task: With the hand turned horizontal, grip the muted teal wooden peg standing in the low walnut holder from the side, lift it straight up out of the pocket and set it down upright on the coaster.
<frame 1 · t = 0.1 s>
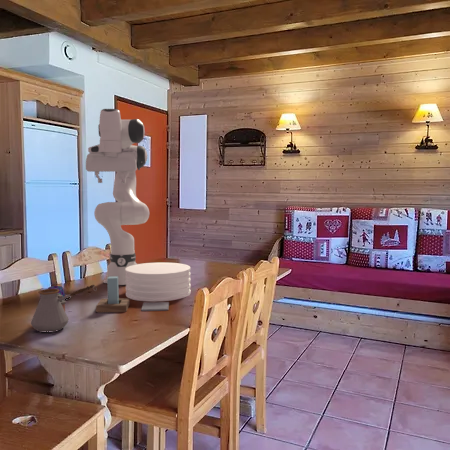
hand: (111, 182, 188), 48 cm above the table, tool pointing down, fingers open, 8 cm apart
coffee pot: (65, 330, 150), on the table
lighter: (56, 322, 158), on the table
plate stack: (158, 294, 200), on the table
holder: (113, 308, 176), on the table
coaster: (155, 307, 177), on the table
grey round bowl: (55, 300, 190), on the table
peg: (113, 292, 175), in the holder
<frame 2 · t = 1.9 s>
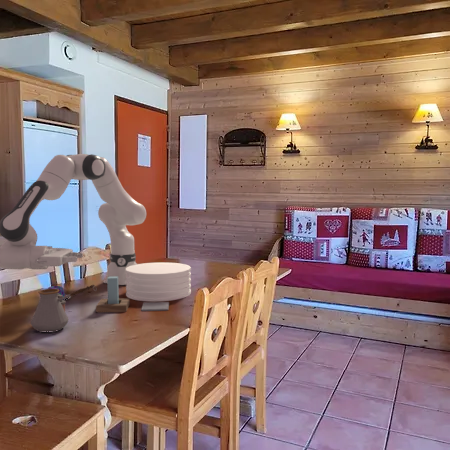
hand: (79, 257, 173), 20 cm above the table, tool horizontal, fingers open, 8 cm apart
nothing on the table moved.
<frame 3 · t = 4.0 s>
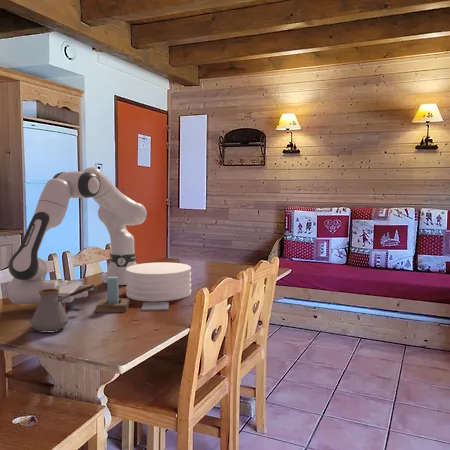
hand: (90, 291, 175), 7 cm above the table, tool horizontal, fingers open, 8 cm apart
nothing on the table moved.
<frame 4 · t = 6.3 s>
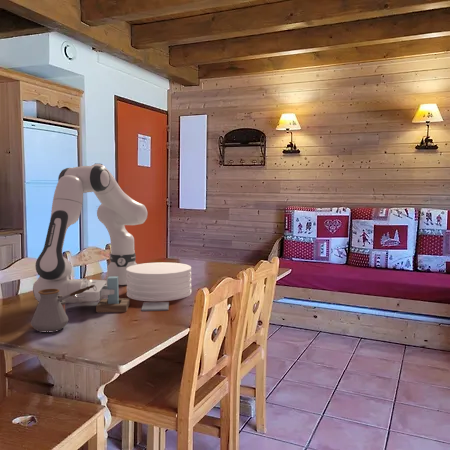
hand: (115, 290, 175), 7 cm above the table, tool horizontal, fingers closed on peg, 4 cm apart
peg: (113, 292, 175), in the holder, touching gripper
everything else where it was.
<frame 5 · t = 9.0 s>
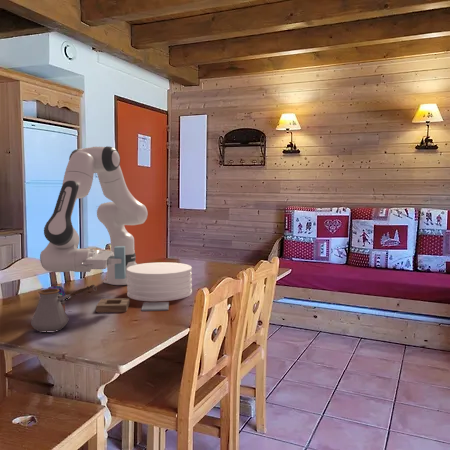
hand: (122, 259, 175), 19 cm above the table, tool horizontal, fingers closed on peg, 4 cm apart
peg: (120, 262, 175), point 18 cm above the table, touching gripper
everything else where it was.
when the fingers open (9 cm above the table, at t = 12.0 s): peg drops 1 cm, resting on coaster.
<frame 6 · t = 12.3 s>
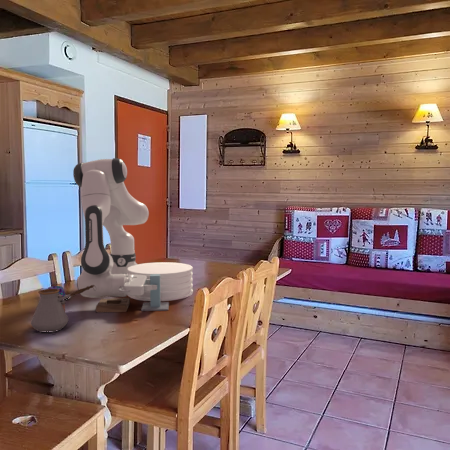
hand: (157, 284, 177), 9 cm above the table, tool horizontal, fingers open, 6 cm apart
peg: (155, 290, 177), on the coaster, point 7 cm above the table
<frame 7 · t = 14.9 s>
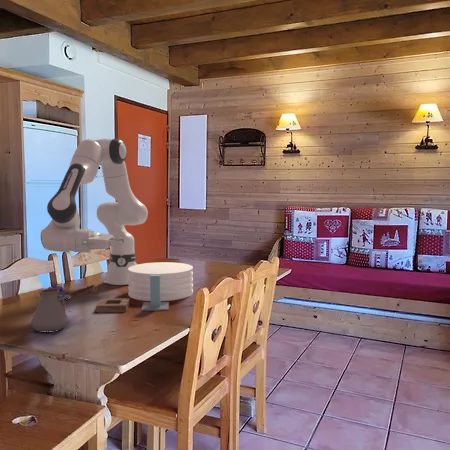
hand: (123, 242, 175), 25 cm above the table, tool horizontal, fingers open, 8 cm apart
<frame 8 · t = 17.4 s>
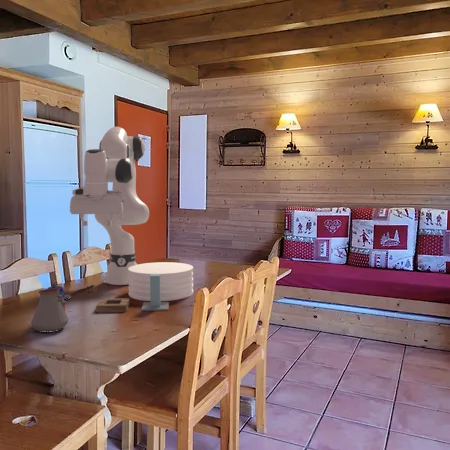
hand: (97, 225, 181), 31 cm above the table, tool pointing down, fingers open, 8 cm apart
at the end: peg inside the target area on the coaster (0.0 cm from its centre), point 6.6 cm above the coaster's base; peg tilted 0°; the gripper is holding nothing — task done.
